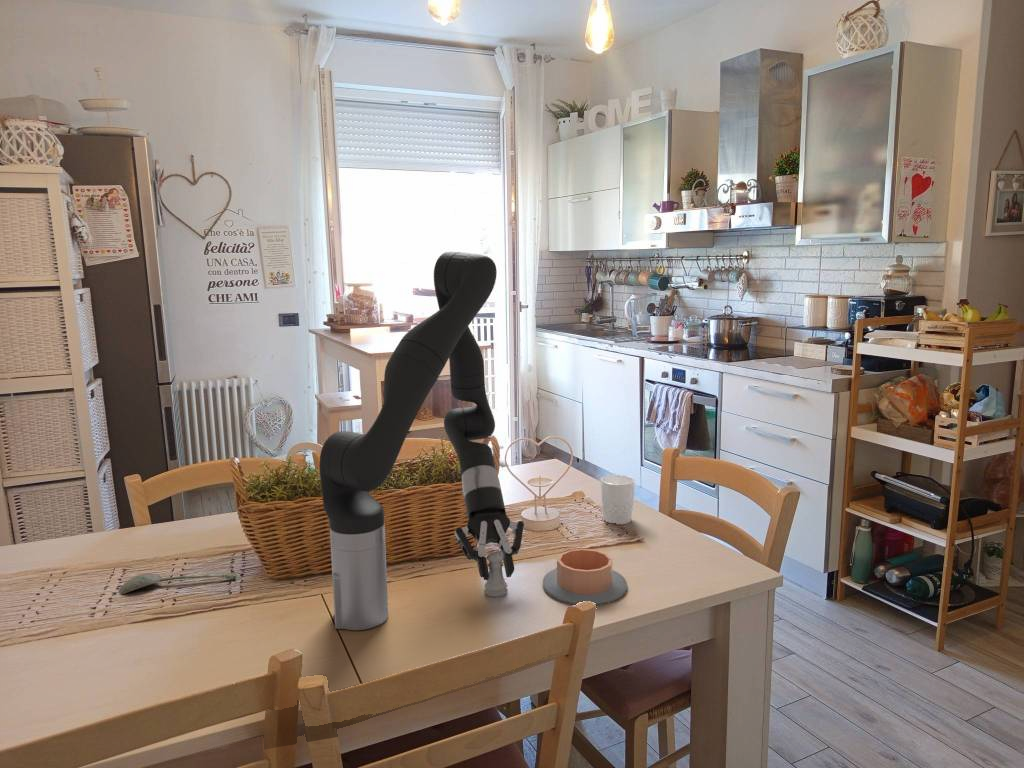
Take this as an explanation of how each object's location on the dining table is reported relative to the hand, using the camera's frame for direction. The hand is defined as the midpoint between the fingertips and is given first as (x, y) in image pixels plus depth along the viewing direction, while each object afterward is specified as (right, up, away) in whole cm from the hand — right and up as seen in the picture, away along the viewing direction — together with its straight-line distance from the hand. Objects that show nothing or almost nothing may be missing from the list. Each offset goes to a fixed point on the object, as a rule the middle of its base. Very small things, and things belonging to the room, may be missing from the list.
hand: (498, 576), depth 134 cm
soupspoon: (-62, -4, +8) cm, 63 cm away
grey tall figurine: (0, -4, +3) cm, 5 cm away
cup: (+16, -3, +5) cm, 17 cm away
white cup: (+28, +3, +40) cm, 48 cm away
